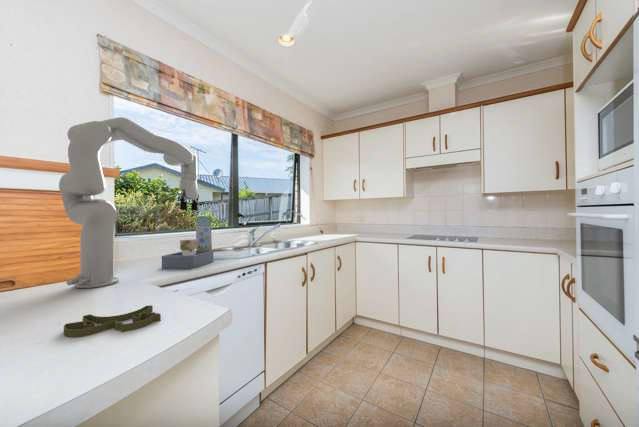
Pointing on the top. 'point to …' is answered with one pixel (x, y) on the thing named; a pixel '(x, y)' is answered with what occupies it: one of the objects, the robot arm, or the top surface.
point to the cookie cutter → (111, 323)
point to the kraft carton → (188, 244)
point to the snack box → (203, 232)
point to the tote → (186, 260)
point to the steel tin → (188, 252)
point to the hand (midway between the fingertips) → (189, 210)
